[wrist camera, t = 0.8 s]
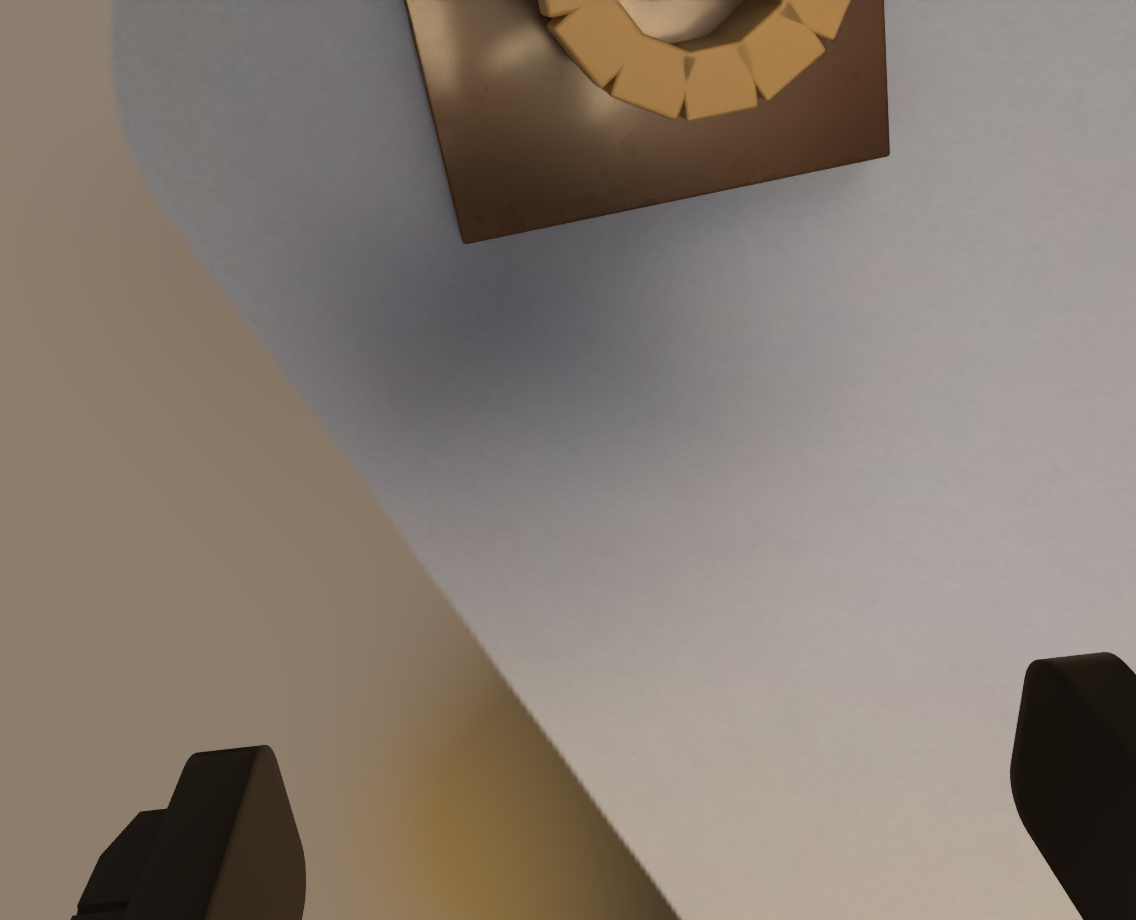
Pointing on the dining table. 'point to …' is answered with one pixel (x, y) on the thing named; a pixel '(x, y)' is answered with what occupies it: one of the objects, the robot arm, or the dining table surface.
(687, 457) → the dining table surface
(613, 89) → the segmented tan ring
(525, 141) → the stand
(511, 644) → the dining table surface
